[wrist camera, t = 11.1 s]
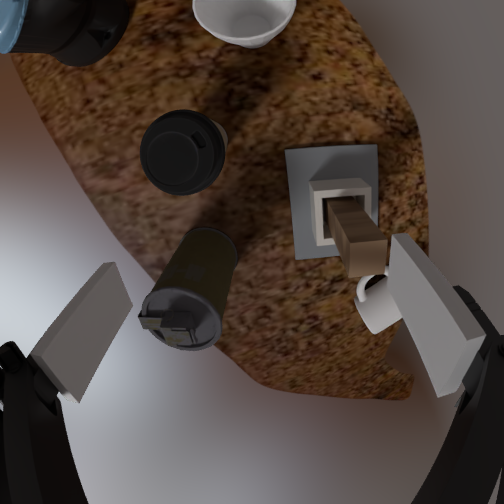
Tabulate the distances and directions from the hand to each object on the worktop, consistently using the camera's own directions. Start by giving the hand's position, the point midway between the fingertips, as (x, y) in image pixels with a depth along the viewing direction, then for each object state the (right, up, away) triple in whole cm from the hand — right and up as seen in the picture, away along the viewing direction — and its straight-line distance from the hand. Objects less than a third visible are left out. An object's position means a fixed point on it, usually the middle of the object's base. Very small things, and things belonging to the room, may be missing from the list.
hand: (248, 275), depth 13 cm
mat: (+13, +9, +30) cm, 34 cm away
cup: (0, +33, +19) cm, 38 cm away
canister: (-8, +1, +36) cm, 37 cm away
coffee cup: (-6, +18, +27) cm, 33 cm away
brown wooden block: (+13, +8, +29) cm, 32 cm away
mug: (+23, -4, +37) cm, 44 cm away
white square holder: (+13, +8, +30) cm, 33 cm away
